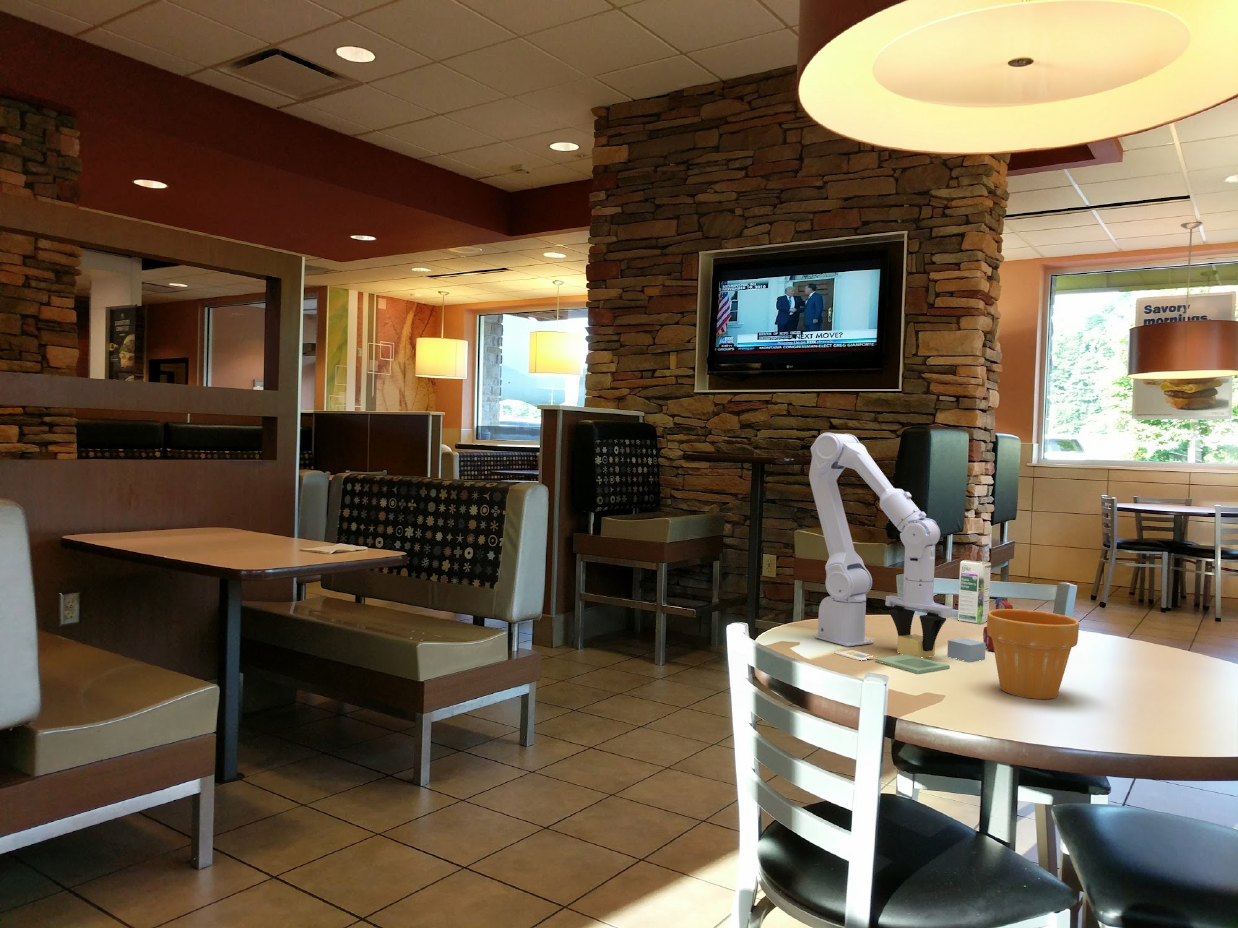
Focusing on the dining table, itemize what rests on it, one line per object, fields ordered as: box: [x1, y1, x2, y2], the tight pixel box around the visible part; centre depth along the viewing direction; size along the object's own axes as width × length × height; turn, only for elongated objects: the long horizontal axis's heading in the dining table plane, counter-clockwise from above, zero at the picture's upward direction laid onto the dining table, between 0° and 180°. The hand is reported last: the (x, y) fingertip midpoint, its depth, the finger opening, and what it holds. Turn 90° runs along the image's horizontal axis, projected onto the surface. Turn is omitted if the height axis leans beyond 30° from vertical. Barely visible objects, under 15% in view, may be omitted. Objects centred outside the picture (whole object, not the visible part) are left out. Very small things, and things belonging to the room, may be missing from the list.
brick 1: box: [896, 633, 936, 658], centre depth 178 cm, size 5×5×4 cm
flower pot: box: [986, 608, 1080, 700], centre depth 152 cm, size 14×14×13 cm
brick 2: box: [946, 637, 987, 663], centre depth 176 cm, size 5×5×4 cm
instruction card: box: [834, 649, 874, 662], centre depth 175 cm, size 7×5×1 cm
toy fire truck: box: [982, 596, 1014, 652], centre depth 186 cm, size 7×12×10 cm, turn 165°
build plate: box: [874, 654, 951, 675], centre depth 169 cm, size 10×9×1 cm
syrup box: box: [957, 559, 992, 625], centre depth 216 cm, size 6×6×14 cm
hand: (916, 647), depth 178 cm, fingers closed on brick 1, 5 cm apart
